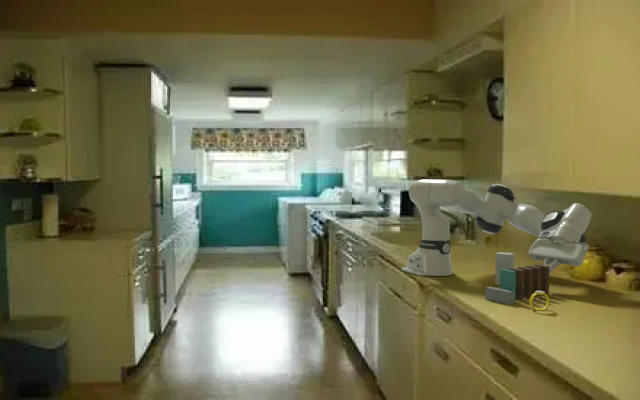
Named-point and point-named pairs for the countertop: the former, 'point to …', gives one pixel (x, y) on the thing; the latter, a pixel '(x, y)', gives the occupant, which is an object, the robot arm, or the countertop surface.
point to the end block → (500, 295)
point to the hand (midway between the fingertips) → (546, 270)
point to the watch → (540, 294)
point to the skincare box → (503, 264)
